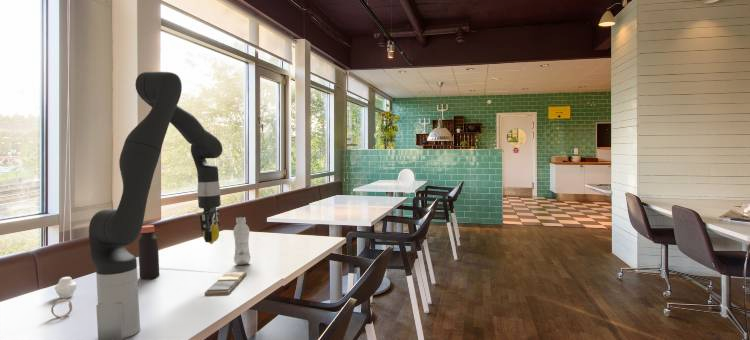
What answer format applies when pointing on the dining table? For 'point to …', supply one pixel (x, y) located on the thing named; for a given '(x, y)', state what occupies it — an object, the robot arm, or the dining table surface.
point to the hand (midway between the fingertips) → (211, 239)
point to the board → (226, 283)
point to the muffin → (65, 287)
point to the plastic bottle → (241, 242)
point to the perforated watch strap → (66, 313)
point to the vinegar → (148, 253)
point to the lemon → (213, 233)
